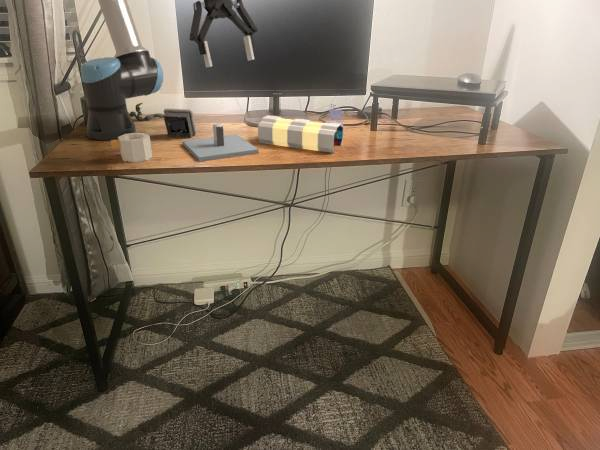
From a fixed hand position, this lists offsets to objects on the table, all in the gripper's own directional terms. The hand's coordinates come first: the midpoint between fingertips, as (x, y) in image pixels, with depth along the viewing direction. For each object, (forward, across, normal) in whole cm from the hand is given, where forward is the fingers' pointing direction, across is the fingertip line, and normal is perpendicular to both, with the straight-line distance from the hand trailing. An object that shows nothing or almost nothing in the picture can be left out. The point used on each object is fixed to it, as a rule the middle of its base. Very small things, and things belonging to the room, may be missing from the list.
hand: (230, 63), depth 126 cm
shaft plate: (+23, -6, +6) cm, 25 cm away
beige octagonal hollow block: (+20, -31, +12) cm, 39 cm away
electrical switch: (+19, -11, +25) cm, 33 cm away
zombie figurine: (+14, -11, +52) cm, 54 cm away
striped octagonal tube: (+28, +17, -3) cm, 33 cm away
